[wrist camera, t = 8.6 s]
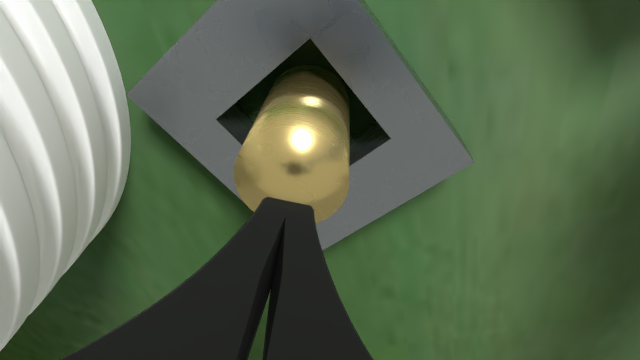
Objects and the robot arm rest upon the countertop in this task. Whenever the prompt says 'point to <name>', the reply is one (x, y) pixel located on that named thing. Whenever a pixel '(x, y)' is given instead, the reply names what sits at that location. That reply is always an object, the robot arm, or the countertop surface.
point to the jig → (352, 65)
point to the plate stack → (55, 145)
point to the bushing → (299, 143)
